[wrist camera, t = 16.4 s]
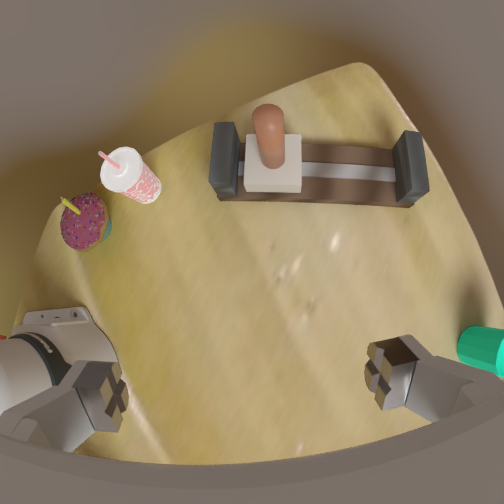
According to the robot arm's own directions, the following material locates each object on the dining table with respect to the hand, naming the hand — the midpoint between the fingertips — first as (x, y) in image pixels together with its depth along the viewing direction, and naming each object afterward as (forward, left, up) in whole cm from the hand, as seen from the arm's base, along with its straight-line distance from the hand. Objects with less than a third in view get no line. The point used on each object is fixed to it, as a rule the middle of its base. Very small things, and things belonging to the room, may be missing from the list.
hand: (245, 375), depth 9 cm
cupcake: (-28, +11, -32) cm, 44 cm away
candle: (+30, -5, -32) cm, 44 cm away
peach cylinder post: (-1, +19, -29) cm, 35 cm away
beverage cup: (-20, +17, -32) cm, 42 cm away
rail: (+5, +19, -32) cm, 38 cm away
